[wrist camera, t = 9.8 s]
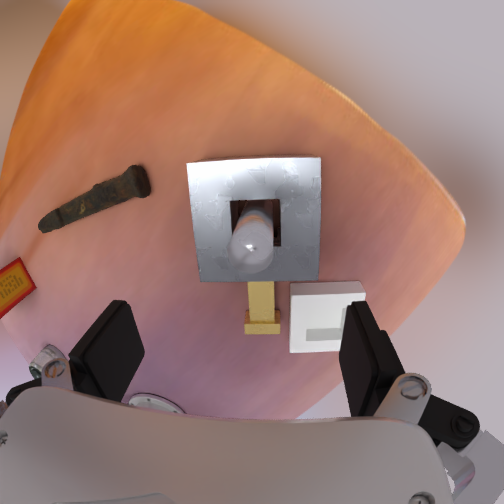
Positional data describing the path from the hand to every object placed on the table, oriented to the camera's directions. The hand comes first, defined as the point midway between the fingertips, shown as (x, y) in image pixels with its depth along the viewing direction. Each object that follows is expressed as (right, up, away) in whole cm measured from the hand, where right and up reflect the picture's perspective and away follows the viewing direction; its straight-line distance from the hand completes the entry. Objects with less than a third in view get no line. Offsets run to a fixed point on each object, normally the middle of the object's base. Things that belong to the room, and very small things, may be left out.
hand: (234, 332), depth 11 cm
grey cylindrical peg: (+1, +8, +20) cm, 22 cm away
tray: (+10, -5, +25) cm, 27 cm away
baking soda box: (-44, -2, +28) cm, 52 cm away
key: (+2, 0, +24) cm, 24 cm away
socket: (+1, +8, +20) cm, 22 cm away
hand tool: (-20, +10, +22) cm, 32 cm away
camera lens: (-41, -19, +35) cm, 57 cm away
